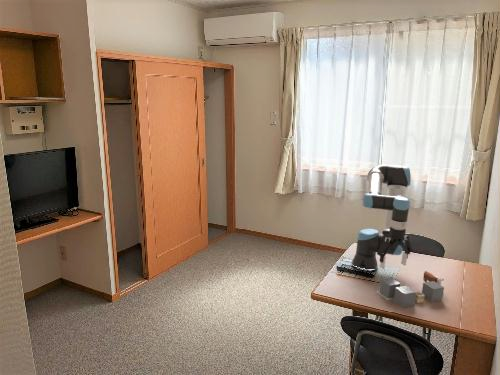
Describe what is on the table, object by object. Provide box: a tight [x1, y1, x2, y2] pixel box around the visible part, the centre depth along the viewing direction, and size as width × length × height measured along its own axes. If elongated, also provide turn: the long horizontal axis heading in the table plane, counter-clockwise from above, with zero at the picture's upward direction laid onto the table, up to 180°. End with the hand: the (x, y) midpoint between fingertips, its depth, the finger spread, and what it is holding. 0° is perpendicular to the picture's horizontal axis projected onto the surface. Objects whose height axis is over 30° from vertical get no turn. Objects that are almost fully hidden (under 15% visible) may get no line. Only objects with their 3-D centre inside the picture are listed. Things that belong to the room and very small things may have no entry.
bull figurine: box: [423, 271, 444, 286], centre depth 212 cm, size 4×13×8 cm, turn 15°
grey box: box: [378, 277, 402, 298], centre depth 203 cm, size 7×7×8 cm
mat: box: [376, 290, 394, 301], centre depth 204 cm, size 9×9×1 cm
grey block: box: [393, 285, 417, 309], centre depth 195 cm, size 7×7×8 cm
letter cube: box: [415, 291, 425, 304], centre depth 199 cm, size 4×4×4 cm
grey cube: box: [421, 281, 445, 303], centre depth 201 cm, size 7×7×8 cm
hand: (392, 266), depth 200 cm, fingers open, 13 cm apart
